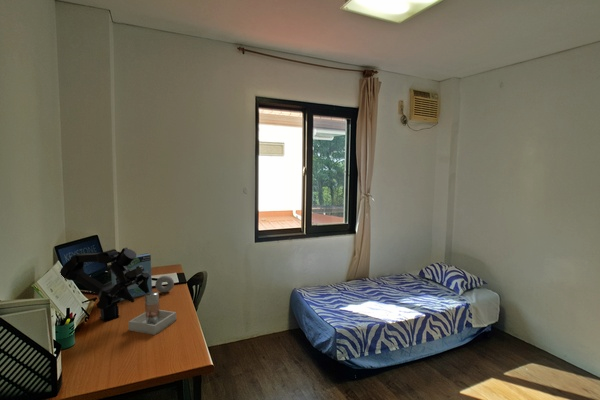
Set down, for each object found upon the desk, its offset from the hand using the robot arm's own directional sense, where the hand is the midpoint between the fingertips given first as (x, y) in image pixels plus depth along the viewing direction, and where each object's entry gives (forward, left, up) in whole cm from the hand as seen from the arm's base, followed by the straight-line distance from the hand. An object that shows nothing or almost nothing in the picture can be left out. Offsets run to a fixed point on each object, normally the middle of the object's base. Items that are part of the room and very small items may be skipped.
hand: (141, 298), depth 144 cm
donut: (+28, +26, -12) cm, 40 cm away
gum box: (+14, +35, -12) cm, 40 cm away
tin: (+2, -6, -11) cm, 13 cm away
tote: (+2, -6, -12) cm, 14 cm away
